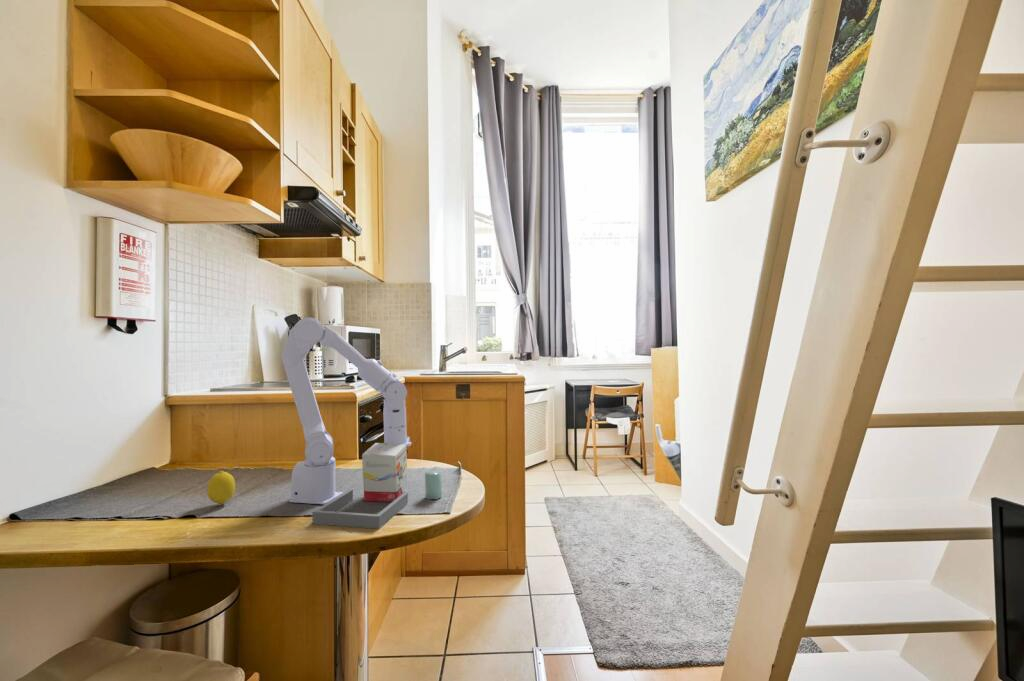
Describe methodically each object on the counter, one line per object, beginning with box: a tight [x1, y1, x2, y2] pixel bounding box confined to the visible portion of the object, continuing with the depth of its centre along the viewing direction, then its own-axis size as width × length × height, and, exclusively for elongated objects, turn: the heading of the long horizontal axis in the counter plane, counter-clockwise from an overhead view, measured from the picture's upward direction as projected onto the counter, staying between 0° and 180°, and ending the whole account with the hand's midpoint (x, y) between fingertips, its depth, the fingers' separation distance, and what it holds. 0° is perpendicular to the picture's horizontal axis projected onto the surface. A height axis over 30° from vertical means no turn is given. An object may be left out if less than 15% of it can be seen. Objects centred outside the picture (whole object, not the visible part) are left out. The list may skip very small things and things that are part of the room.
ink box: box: [361, 442, 408, 503], centre depth 114 cm, size 9×9×12 cm
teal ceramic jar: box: [424, 470, 443, 500], centre depth 114 cm, size 4×4×6 cm
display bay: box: [311, 489, 409, 530], centre depth 103 cm, size 15×15×2 cm
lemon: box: [206, 470, 236, 505], centre depth 108 cm, size 6×6×8 cm
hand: (397, 478), depth 120 cm, fingers closed, pressing on ink box
